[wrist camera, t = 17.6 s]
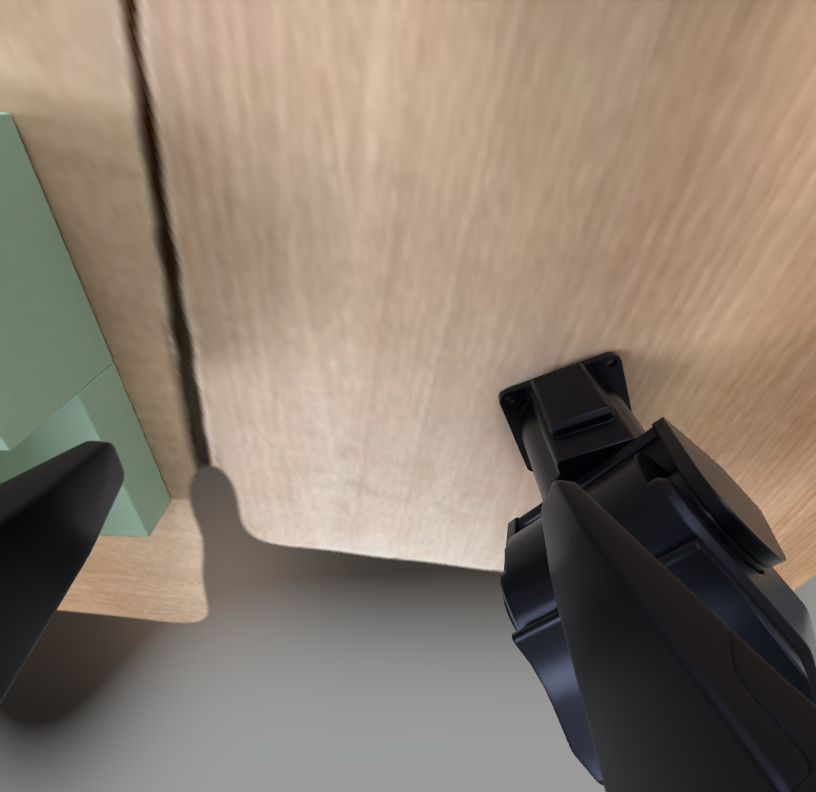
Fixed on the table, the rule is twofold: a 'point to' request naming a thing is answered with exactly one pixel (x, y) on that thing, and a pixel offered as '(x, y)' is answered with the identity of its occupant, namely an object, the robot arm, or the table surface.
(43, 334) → the step shelf
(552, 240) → the table surface
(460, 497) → the table surface
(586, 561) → the robot arm
